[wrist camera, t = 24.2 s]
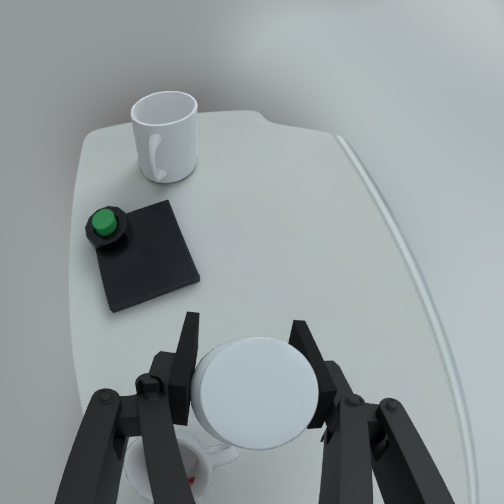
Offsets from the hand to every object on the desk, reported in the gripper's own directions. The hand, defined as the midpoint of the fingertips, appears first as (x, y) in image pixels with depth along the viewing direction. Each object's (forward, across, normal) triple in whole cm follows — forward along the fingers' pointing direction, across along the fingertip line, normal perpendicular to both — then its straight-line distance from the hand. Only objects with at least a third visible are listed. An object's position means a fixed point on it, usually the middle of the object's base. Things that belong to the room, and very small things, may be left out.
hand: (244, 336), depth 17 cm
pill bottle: (0, 0, +5) cm, 5 cm away
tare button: (+20, +18, -1) cm, 27 cm away
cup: (+3, +4, +20) cm, 20 cm away
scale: (+21, +13, +2) cm, 24 cm away
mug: (+32, +12, -9) cm, 35 cm away
